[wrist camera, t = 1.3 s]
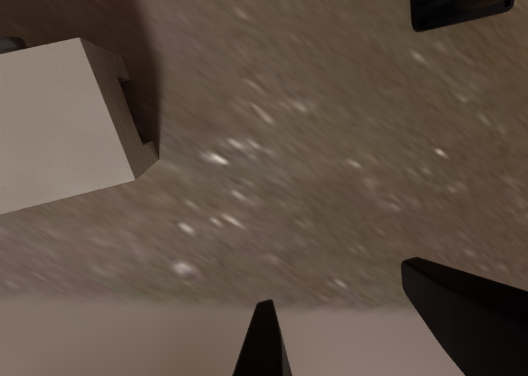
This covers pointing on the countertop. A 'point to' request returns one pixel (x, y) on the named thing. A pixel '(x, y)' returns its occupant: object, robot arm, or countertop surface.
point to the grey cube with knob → (64, 123)
